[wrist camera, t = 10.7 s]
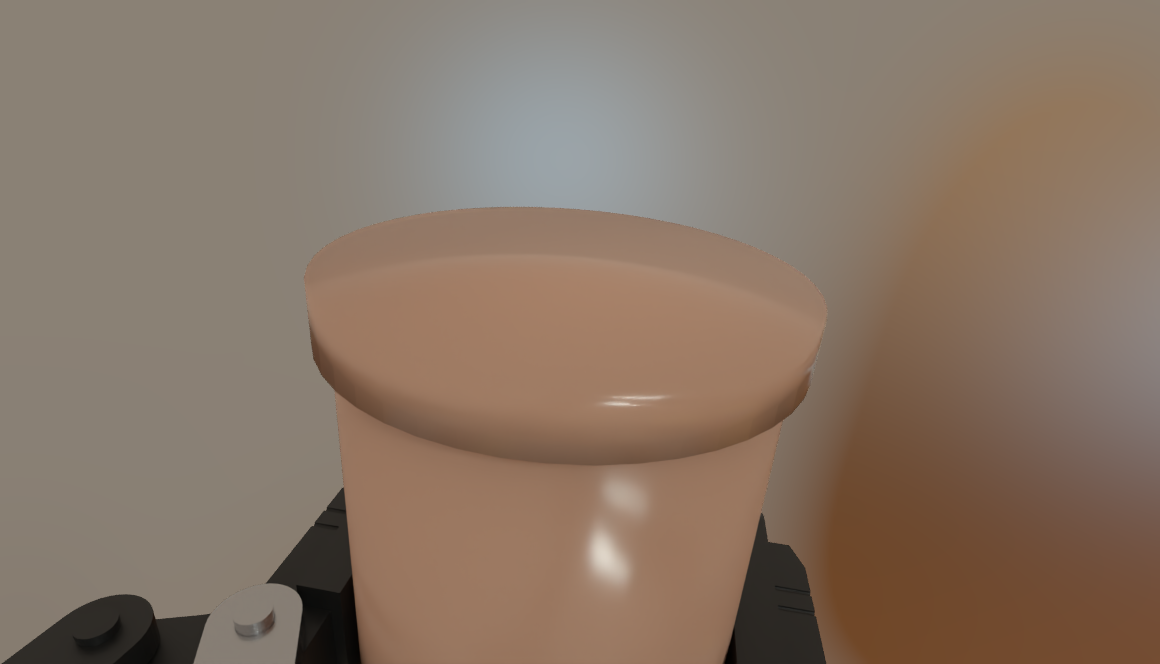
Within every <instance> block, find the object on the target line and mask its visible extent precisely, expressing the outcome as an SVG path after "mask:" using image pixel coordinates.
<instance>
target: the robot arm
mask: <svg viewBox="0 0 1160 664" xmlns="http://www.w3.org/2000/svg"><path fill="white" fill-rule="evenodd" d="M814 612H815V611H814V606H813V602H812V597H811V596H810V588H809V583H808V579H807V574H806V570H805V567H804V566H803V564H802V563H801V562H800V560H799V559H798V557H797V556H796V554H795V553H794V552H793V550H792V549H791V548H790V546H789V545H783V544H777V543H770V542H768V539H767V533H766V527H765V520H764V516H763V514H762V513H761V515H760V519H759V523H758V527H757V532H756V536H755V540H754V544H753V548H752V553H751V557H750V561H749V565H748V569H747V574H746V578H745V582H744V586H743V590H742V595H741V599H740V603H739V607H738V611H737V616H736V620H735V624H734V628H733V632H732V637H731V641H730V645H729V649H728V653H727V658H726V662H725V664H826V661H825V656H824V651H823V647H822V642H821V638H820V634H819V629H818V624H817V620H816V617H815V616H814ZM2 664H361V659H360V649H359V638H358V628H357V617H356V607H355V597H354V586H353V576H352V566H351V555H350V545H349V534H348V524H347V514H346V503H345V493H344V488H342V489H341V490H340V492H339V493H338V494H337V495H336V497H335V498H334V499H333V500H332V502H331V503H330V504H329V505H328V507H327V510H326V511H324V512H323V513H322V514H321V515H320V517H319V518H318V519H317V520H316V522H315V525H314V526H312V527H311V528H310V529H309V530H308V532H307V533H306V534H305V535H304V537H303V538H302V539H301V541H300V542H299V543H298V544H297V545H296V547H295V548H294V549H293V550H292V552H291V553H290V554H289V555H288V557H287V558H286V559H285V560H284V561H283V563H282V564H281V565H280V566H279V568H278V569H277V570H276V571H275V573H274V574H273V575H272V577H271V578H270V579H269V580H268V582H267V583H266V584H260V585H255V586H252V587H249V588H245V589H243V590H241V591H238V592H236V593H235V594H233V595H231V596H229V597H228V598H227V599H225V600H224V601H223V602H221V603H220V604H219V605H218V606H217V607H216V608H215V609H214V611H213V612H212V613H211V614H207V615H197V616H187V617H176V618H166V619H155V616H154V613H153V609H152V607H151V605H150V603H149V602H148V601H147V600H146V599H144V598H142V597H139V596H135V595H115V596H109V597H105V598H101V599H98V600H95V601H92V602H90V603H88V604H85V605H83V606H81V607H79V608H78V609H76V610H74V611H72V612H71V613H69V614H68V615H66V616H65V617H64V618H62V619H61V620H60V621H58V622H57V623H56V624H54V625H53V626H52V627H50V628H49V629H47V630H46V631H45V632H43V633H42V634H41V635H39V636H38V637H37V638H36V639H34V640H33V641H32V642H30V643H29V644H28V645H26V646H25V647H23V648H22V649H21V650H19V651H18V652H17V653H15V654H14V655H13V656H11V657H10V658H9V659H7V660H6V661H5V662H4V663H2Z"/></svg>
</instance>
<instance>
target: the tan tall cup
mask: <svg viewBox="0 0 1160 664" xmlns="http://www.w3.org/2000/svg"><path fill="white" fill-rule="evenodd" d="M304 281H305V291H306V300H307V309H308V318H309V327H310V337H311V345H312V352H313V359H314V361H315V363H316V365H317V367H318V369H319V371H320V373H321V375H322V376H323V377H324V378H325V380H326V381H327V382H328V383H329V384H330V385H331V387H332V388H333V389H334V390H335V399H336V410H337V419H338V430H339V440H340V451H341V462H342V472H343V482H344V493H345V503H346V514H347V524H348V534H349V545H350V555H351V566H352V576H353V586H354V597H355V607H356V617H357V628H358V638H359V649H360V659H361V664H725V662H726V658H727V653H728V649H729V645H730V641H731V637H732V632H733V628H734V624H735V620H736V616H737V611H738V607H739V603H740V599H741V595H742V590H743V586H744V582H745V578H746V574H747V569H748V565H749V561H750V557H751V553H752V548H753V544H754V540H755V536H756V532H757V527H758V523H759V519H760V515H761V510H762V506H763V501H764V498H765V493H766V489H767V485H768V481H769V476H770V473H771V468H772V464H773V460H774V456H775V451H776V447H777V443H778V439H779V435H780V430H781V426H782V422H783V420H784V419H785V418H786V417H788V416H789V415H791V414H792V413H793V412H794V410H795V409H796V408H797V407H798V406H799V404H800V403H801V402H802V401H803V400H804V398H805V396H806V394H807V391H808V389H809V387H810V384H811V380H812V377H813V373H814V369H815V364H816V361H817V357H818V353H819V349H820V345H821V341H822V337H823V333H824V329H825V325H826V321H827V306H826V303H825V300H824V297H823V295H822V294H821V293H820V292H819V290H818V288H817V287H816V286H815V285H814V284H813V283H812V282H811V281H810V280H809V279H808V278H807V277H806V276H805V275H804V274H802V273H801V272H799V271H798V270H796V269H795V268H793V267H792V266H791V265H789V264H787V263H785V262H784V261H782V260H780V259H778V258H776V257H774V256H773V255H770V254H768V253H766V252H764V251H762V250H759V249H757V248H755V247H752V246H750V245H747V244H744V243H742V242H739V241H736V240H733V239H730V238H727V237H724V236H721V235H718V234H715V233H711V232H707V231H703V230H700V229H696V228H692V227H688V226H684V225H679V224H675V223H670V222H665V221H660V220H654V219H650V218H644V217H637V216H631V215H624V214H617V213H609V212H600V211H590V210H579V209H564V208H542V207H491V208H472V209H458V210H448V211H438V212H431V213H425V214H418V215H412V216H407V217H402V218H397V219H392V220H389V221H384V222H381V223H377V224H373V225H370V226H368V227H364V228H361V229H358V230H356V231H354V232H351V233H349V234H347V235H344V236H342V237H340V238H338V239H336V240H335V241H333V242H331V243H329V244H328V245H326V246H325V247H324V248H323V249H322V250H320V251H319V252H318V253H317V254H316V255H315V256H314V257H313V258H312V260H311V261H310V263H309V264H308V265H307V268H306V272H305V276H304Z"/></svg>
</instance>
